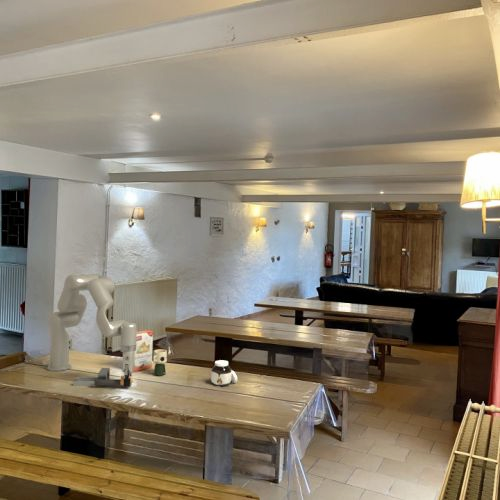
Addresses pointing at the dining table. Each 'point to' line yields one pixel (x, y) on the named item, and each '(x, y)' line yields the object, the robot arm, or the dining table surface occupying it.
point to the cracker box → (143, 350)
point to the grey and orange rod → (111, 381)
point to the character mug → (160, 361)
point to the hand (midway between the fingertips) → (127, 384)
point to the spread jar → (222, 374)
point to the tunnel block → (93, 378)
